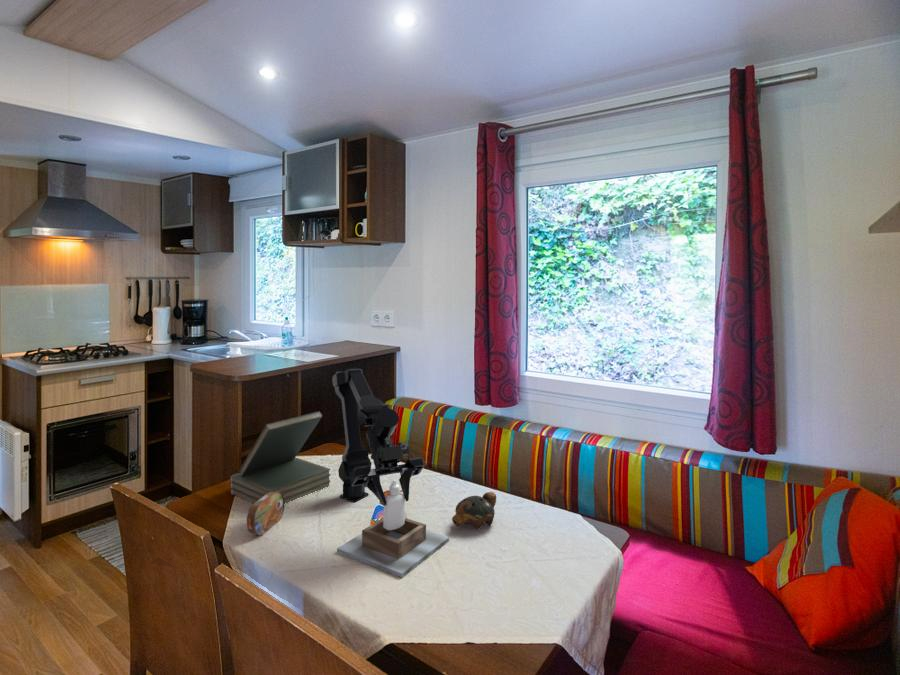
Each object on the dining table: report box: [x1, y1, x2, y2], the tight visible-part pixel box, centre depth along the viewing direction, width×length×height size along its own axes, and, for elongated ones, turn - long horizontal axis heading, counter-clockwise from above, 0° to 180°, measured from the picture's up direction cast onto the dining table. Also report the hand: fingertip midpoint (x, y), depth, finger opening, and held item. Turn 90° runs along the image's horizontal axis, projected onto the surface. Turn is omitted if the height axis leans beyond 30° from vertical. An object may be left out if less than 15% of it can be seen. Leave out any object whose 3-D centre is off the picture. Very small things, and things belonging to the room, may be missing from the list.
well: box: [336, 517, 450, 578], centre depth 130 cm, size 20×20×5 cm
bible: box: [230, 411, 331, 505], centre depth 163 cm, size 23×20×25 cm
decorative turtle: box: [451, 491, 497, 530], centre depth 143 cm, size 10×15×8 cm, turn 135°
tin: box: [246, 491, 285, 536], centre depth 139 cm, size 15×3×8 cm, turn 168°
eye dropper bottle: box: [382, 479, 406, 530], centre depth 129 cm, size 4×6×12 cm
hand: (396, 502), depth 128 cm, fingers closed on eye dropper bottle, 6 cm apart
